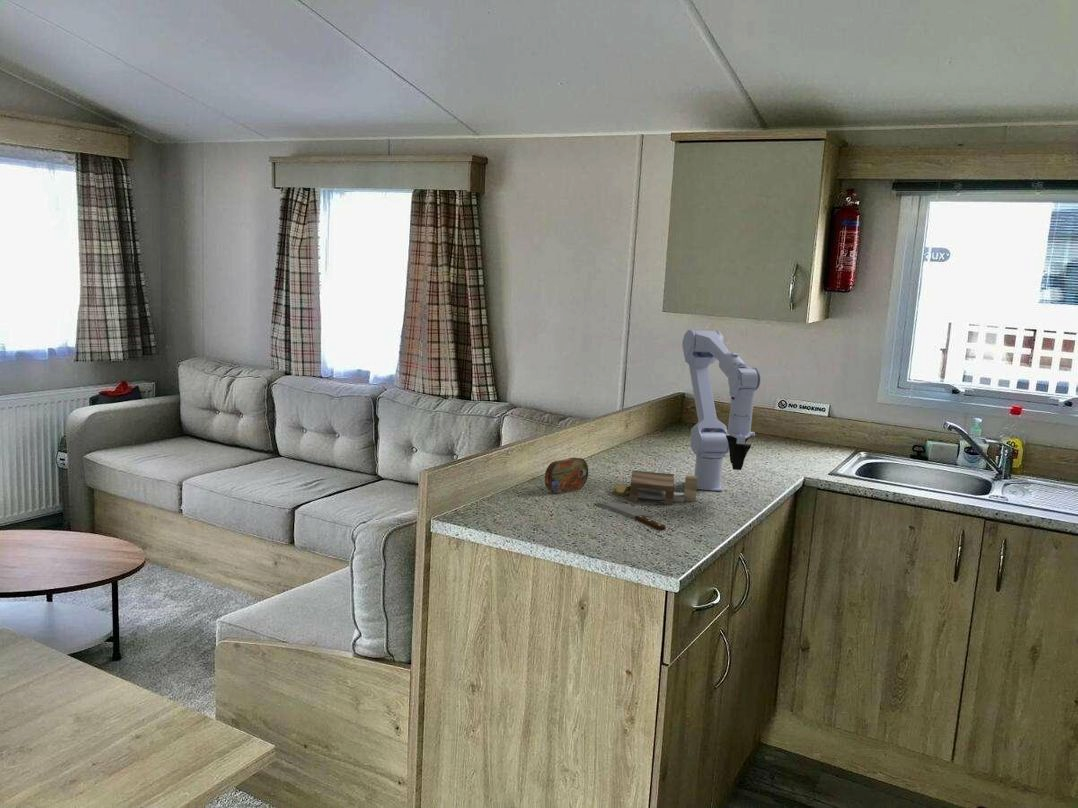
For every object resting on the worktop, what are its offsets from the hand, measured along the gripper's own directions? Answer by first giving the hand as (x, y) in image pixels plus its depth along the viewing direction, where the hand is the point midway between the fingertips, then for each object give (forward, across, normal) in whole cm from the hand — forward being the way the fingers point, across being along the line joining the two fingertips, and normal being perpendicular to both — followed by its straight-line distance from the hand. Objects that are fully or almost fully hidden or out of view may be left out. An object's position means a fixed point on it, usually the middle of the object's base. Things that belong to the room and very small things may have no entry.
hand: (735, 466), depth 232 cm
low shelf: (+9, -2, +21) cm, 23 cm away
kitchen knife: (+10, -21, +24) cm, 33 cm away
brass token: (+10, -2, +28) cm, 30 cm away
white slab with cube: (+9, -2, +18) cm, 20 cm away
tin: (+10, -4, +43) cm, 45 cm away
